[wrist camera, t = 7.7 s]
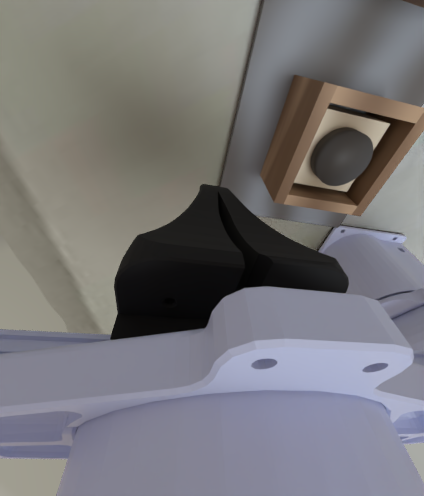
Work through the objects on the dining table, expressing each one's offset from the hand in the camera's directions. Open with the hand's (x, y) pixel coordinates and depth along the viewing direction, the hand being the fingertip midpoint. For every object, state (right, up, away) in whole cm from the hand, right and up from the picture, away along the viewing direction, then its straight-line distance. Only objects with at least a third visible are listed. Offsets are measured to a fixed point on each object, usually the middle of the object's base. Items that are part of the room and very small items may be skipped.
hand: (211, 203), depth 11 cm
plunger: (+9, +7, +7) cm, 13 cm away
